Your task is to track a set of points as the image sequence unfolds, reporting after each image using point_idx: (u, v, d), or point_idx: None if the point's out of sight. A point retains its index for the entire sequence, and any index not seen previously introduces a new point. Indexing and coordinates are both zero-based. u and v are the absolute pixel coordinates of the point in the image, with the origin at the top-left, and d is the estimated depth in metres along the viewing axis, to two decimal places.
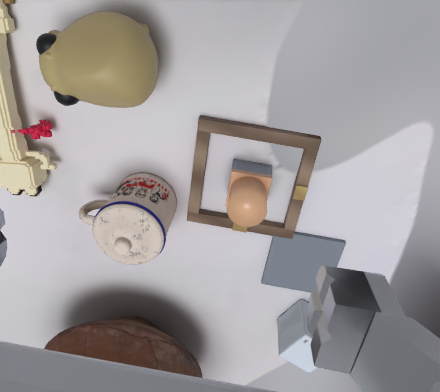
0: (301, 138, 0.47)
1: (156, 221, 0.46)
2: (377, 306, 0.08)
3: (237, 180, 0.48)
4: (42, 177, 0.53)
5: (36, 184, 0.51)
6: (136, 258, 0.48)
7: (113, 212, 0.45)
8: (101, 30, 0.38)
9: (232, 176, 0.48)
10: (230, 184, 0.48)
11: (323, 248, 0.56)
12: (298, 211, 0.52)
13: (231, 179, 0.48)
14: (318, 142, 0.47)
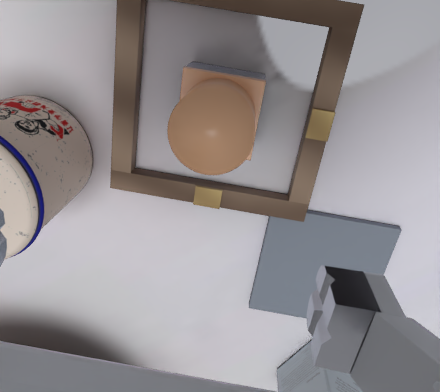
0: (324, 3, 0.23)
1: (16, 162, 0.21)
2: (377, 306, 0.08)
3: (195, 85, 0.23)
4: None
5: None
6: None
7: None
8: None
9: (185, 79, 0.24)
10: (182, 97, 0.24)
11: (359, 241, 0.31)
12: (316, 165, 0.28)
13: (183, 86, 0.24)
14: (358, 11, 0.24)
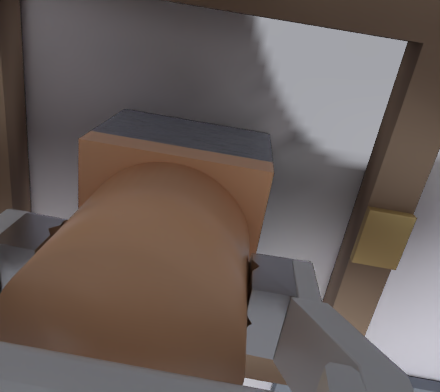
0: None
1: None
2: (296, 292, 0.08)
3: (106, 181, 0.10)
4: None
5: None
6: None
7: None
8: None
9: (86, 163, 0.10)
10: (83, 202, 0.11)
11: None
12: (368, 307, 0.14)
13: (84, 178, 0.10)
14: None
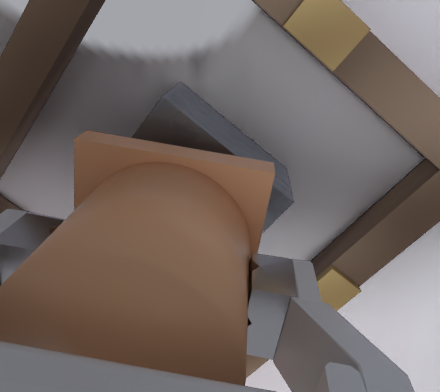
0: None
1: None
2: (295, 292, 0.08)
3: (103, 182, 0.10)
4: None
5: None
6: None
7: None
8: None
9: (82, 164, 0.10)
10: (79, 203, 0.10)
11: None
12: (406, 78, 0.12)
13: (80, 179, 0.10)
14: None
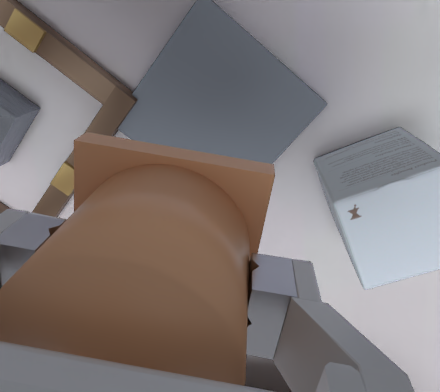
0: None
1: None
2: (295, 292, 0.08)
3: (103, 184, 0.10)
4: None
5: None
6: None
7: None
8: None
9: (82, 165, 0.10)
10: (79, 205, 0.10)
11: (195, 50, 0.24)
12: (71, 56, 0.24)
13: (80, 181, 0.10)
14: None
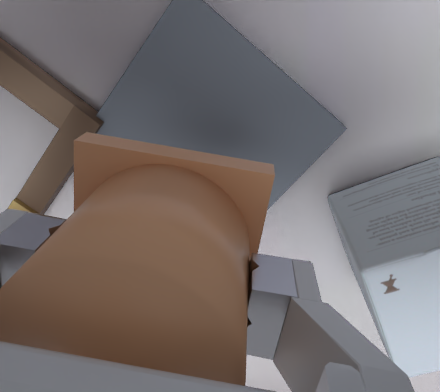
0: None
1: None
2: (296, 292, 0.08)
3: (103, 184, 0.10)
4: None
5: None
6: None
7: None
8: None
9: (82, 165, 0.10)
10: (79, 205, 0.10)
11: (176, 60, 0.18)
12: (16, 67, 0.18)
13: (80, 181, 0.10)
14: None
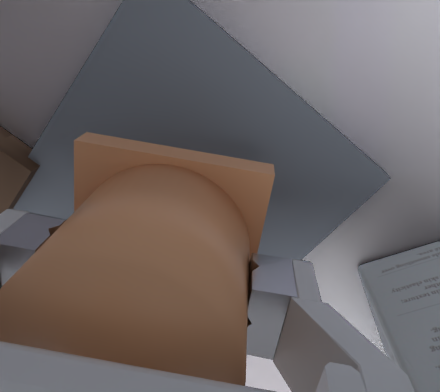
0: None
1: None
2: (295, 292, 0.08)
3: (103, 184, 0.10)
4: None
5: None
6: None
7: None
8: None
9: (82, 165, 0.10)
10: (79, 205, 0.10)
11: (139, 78, 0.12)
12: None
13: (80, 181, 0.10)
14: None
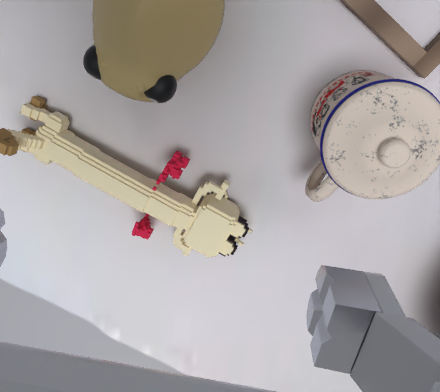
0: None
1: (393, 82, 0.27)
2: (377, 306, 0.08)
3: None
4: (231, 207, 0.39)
5: (232, 216, 0.37)
6: (428, 155, 0.28)
7: (335, 134, 0.28)
8: None
9: None
10: None
11: None
12: None
13: None
14: None
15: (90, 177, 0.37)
